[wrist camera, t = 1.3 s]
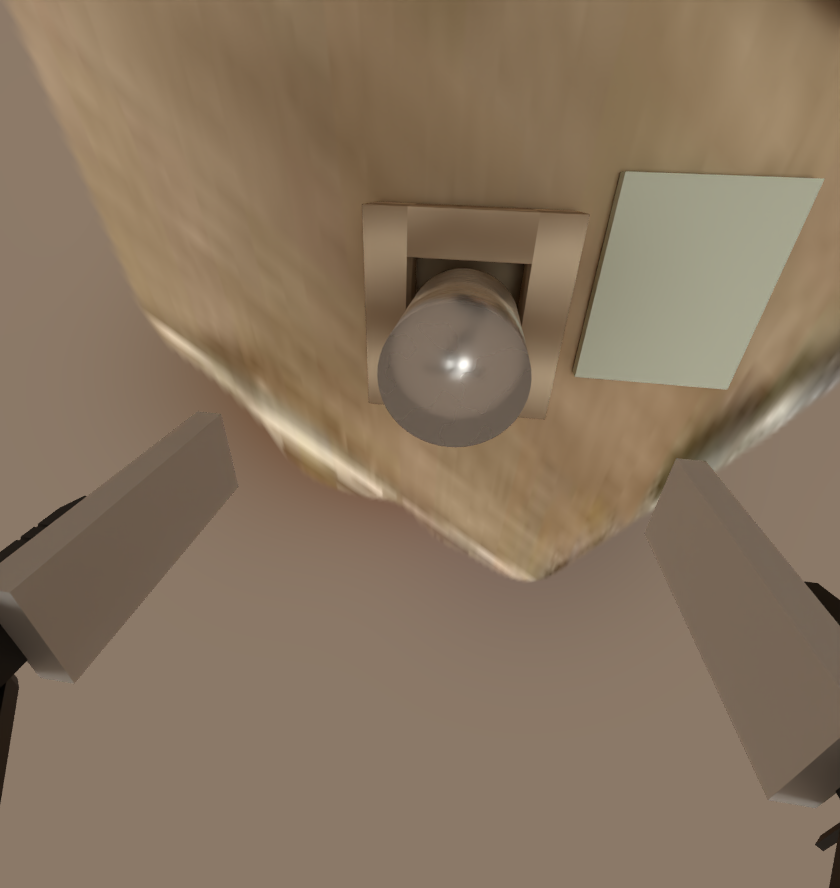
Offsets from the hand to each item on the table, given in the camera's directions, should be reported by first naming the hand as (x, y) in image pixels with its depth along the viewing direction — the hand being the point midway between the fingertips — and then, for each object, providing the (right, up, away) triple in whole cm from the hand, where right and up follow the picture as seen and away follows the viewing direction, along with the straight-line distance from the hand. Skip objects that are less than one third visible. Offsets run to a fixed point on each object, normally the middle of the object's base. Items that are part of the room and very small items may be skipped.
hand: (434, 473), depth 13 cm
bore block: (+3, +10, +16) cm, 19 cm away
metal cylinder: (+3, +10, +16) cm, 19 cm away
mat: (+16, +11, +14) cm, 23 cm away
